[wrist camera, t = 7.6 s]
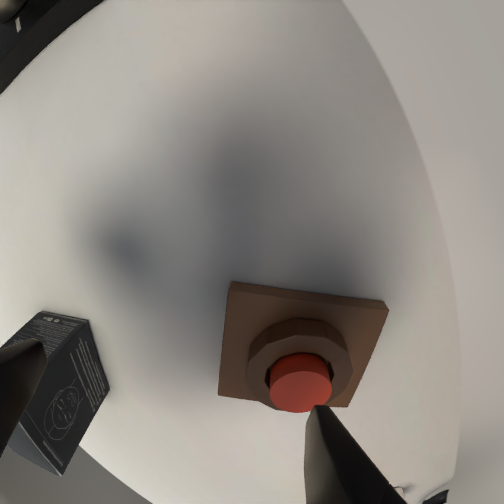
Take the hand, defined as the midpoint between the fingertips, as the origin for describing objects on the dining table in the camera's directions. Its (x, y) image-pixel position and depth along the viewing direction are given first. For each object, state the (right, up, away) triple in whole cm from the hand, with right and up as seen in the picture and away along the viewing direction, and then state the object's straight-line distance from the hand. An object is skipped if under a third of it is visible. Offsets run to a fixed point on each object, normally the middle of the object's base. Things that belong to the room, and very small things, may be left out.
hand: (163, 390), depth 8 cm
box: (-13, -5, +14) cm, 20 cm away
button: (+6, -3, +9) cm, 12 cm away
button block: (+6, -3, +12) cm, 14 cm away
